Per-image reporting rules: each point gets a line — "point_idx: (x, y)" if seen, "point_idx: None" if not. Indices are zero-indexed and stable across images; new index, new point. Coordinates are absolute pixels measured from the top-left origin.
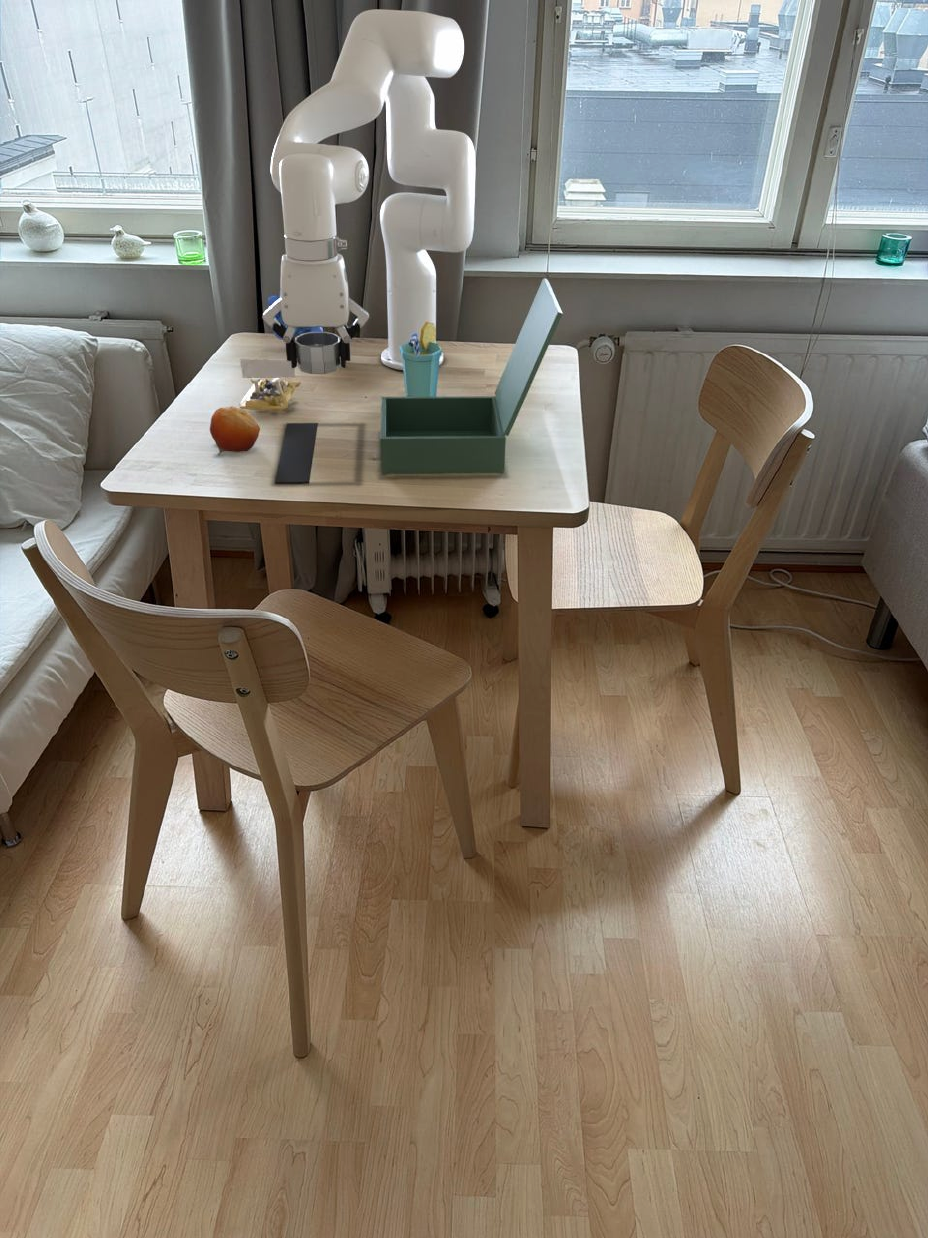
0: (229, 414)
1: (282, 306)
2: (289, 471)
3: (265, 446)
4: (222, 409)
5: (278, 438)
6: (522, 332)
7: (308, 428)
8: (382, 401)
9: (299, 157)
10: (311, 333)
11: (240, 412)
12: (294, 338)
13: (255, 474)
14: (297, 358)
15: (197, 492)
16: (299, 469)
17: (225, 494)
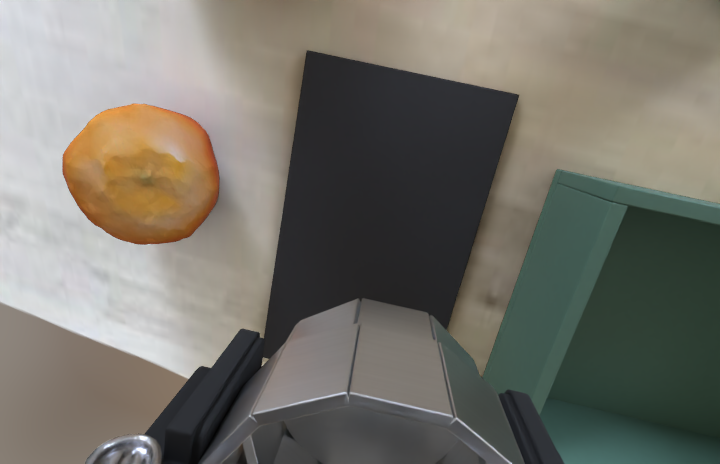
0: (105, 209)
1: None
2: (293, 322)
3: (247, 174)
4: (77, 179)
5: (280, 134)
6: None
7: (362, 102)
8: (605, 230)
9: None
10: (332, 407)
11: (139, 179)
12: (193, 449)
13: (225, 305)
14: (261, 344)
15: (120, 346)
16: None
17: (171, 366)
